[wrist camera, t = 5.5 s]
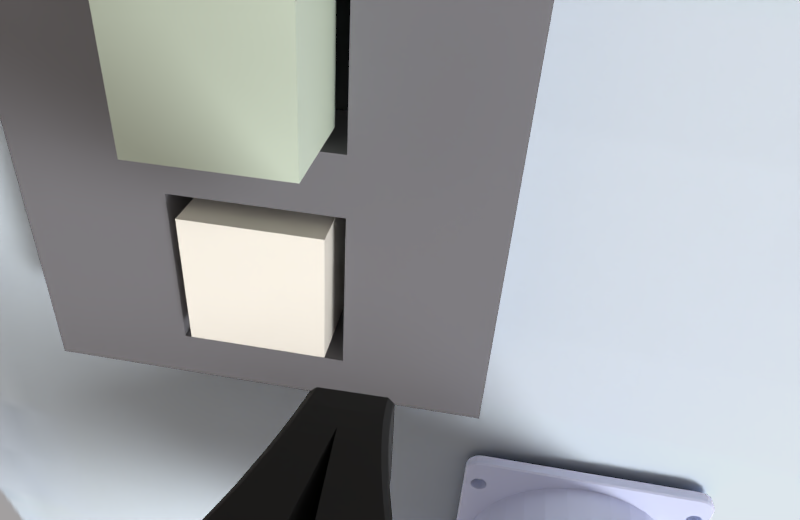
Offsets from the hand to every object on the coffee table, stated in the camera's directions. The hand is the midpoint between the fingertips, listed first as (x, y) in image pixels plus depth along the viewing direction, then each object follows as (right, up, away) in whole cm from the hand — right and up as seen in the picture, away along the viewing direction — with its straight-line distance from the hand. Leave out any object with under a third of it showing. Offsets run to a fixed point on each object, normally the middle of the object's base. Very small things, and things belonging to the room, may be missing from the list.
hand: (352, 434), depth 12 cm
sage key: (-2, +8, +3) cm, 8 cm away
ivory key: (-2, +4, +8) cm, 9 cm away
